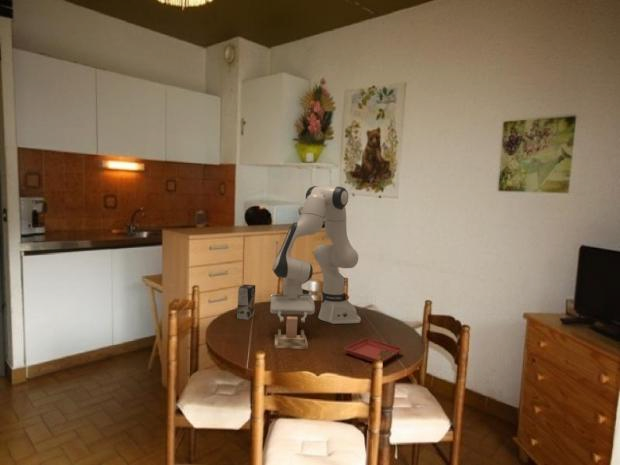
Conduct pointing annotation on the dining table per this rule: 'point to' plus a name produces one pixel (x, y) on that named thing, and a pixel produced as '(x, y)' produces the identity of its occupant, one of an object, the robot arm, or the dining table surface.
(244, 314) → the coffee box
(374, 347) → the plant saucer
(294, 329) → the pinkish brown block
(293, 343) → the rack
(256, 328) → the dining table surface
